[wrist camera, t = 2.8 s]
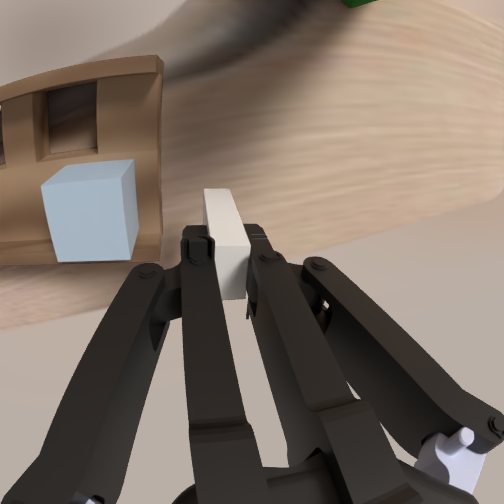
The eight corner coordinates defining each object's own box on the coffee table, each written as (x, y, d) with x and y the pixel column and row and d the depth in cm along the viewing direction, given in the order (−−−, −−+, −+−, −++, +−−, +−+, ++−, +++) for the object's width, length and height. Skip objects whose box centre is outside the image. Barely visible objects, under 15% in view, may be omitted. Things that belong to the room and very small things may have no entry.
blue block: (66, 165, 15) (40, 185, 12) (134, 159, 16) (121, 177, 13) (76, 231, 18) (58, 262, 15) (139, 228, 19) (130, 259, 16)
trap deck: (-64, 123, 10) (-96, 137, 6) (163, 62, 15) (155, 53, 11) (-41, 242, 17) (-65, 269, 13) (163, 229, 22) (158, 265, 18)
